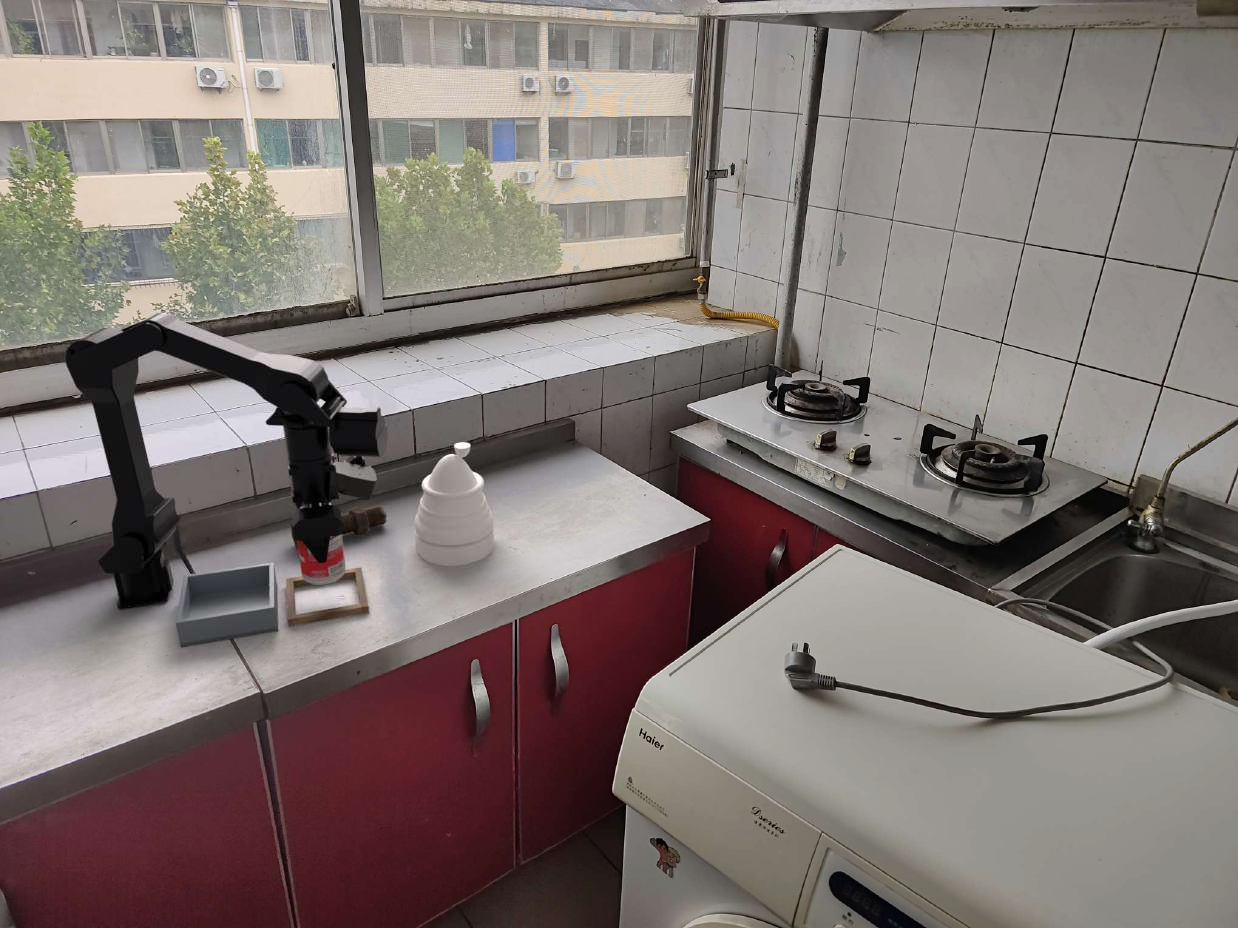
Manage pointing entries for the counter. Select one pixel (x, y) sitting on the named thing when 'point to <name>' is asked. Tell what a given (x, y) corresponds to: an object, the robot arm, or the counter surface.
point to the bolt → (359, 521)
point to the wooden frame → (327, 613)
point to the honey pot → (453, 514)
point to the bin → (227, 604)
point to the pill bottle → (323, 571)
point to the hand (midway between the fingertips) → (321, 551)
